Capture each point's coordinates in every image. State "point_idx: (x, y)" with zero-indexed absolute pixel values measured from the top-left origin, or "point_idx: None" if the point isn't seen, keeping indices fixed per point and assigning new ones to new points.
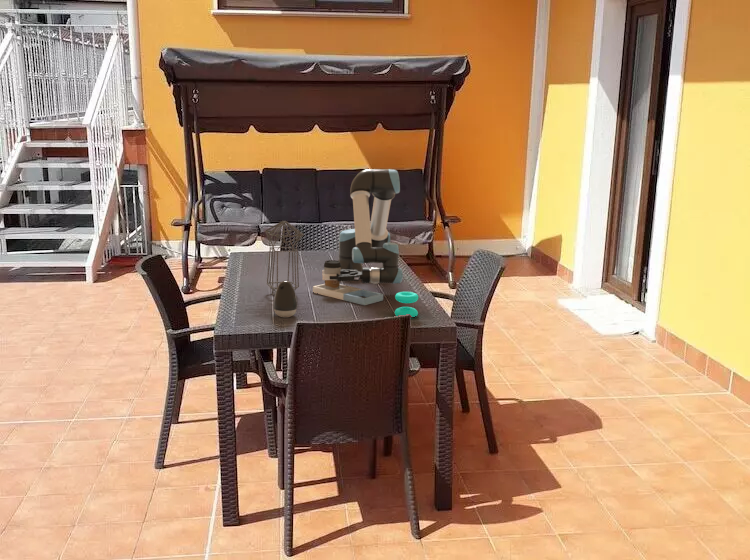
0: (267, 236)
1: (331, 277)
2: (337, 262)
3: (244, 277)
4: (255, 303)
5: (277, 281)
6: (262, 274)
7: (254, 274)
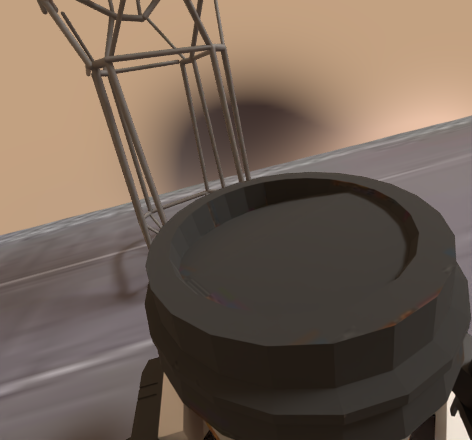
0: (153, 4)
1: (144, 388)
2: (299, 292)
3: (359, 154)
4: (106, 233)
5: (131, 199)
6: (423, 155)
7: (406, 151)
